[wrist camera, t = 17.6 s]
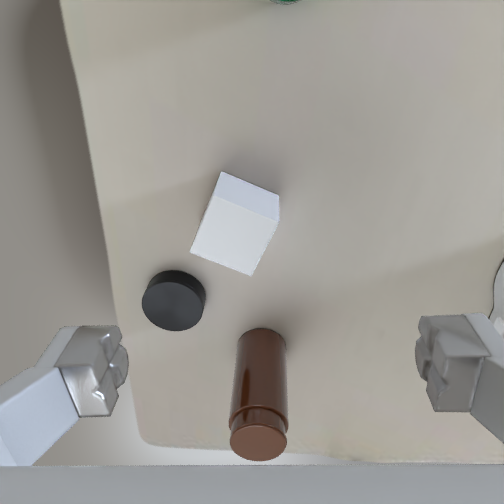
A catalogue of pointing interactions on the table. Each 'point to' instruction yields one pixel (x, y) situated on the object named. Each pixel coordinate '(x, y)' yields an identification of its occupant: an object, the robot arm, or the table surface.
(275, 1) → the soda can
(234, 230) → the white cube
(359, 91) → the table surface
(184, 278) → the lid
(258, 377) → the coffee jar
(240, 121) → the table surface
